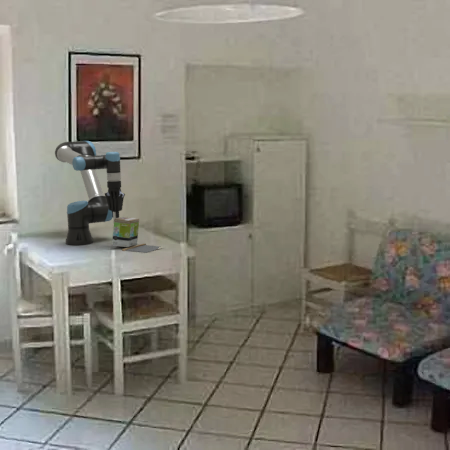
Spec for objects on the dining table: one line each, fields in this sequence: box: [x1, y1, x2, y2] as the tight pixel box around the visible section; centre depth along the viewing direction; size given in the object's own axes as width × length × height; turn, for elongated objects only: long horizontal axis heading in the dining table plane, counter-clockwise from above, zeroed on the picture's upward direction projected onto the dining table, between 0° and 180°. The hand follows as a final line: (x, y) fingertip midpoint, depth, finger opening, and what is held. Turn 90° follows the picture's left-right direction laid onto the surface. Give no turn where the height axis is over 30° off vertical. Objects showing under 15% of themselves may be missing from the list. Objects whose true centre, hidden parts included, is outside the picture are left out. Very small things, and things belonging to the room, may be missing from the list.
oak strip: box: [121, 243, 147, 252], centre depth 413 cm, size 2×18×1 cm, turn 146°
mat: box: [126, 244, 160, 254], centre depth 409 cm, size 14×16×1 cm
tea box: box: [111, 216, 140, 248], centre depth 416 cm, size 15×10×15 cm
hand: (116, 223), depth 418 cm, fingers closed
